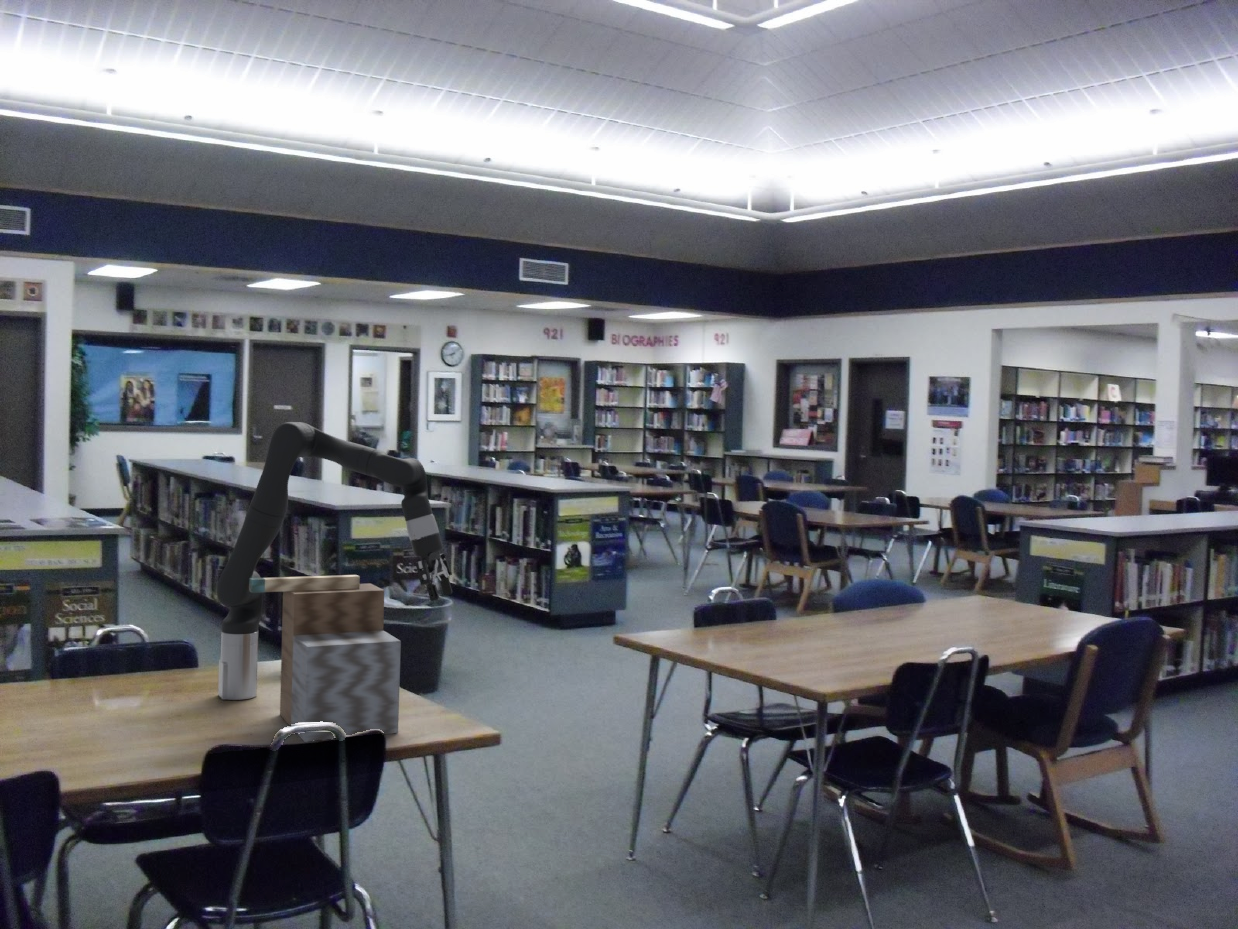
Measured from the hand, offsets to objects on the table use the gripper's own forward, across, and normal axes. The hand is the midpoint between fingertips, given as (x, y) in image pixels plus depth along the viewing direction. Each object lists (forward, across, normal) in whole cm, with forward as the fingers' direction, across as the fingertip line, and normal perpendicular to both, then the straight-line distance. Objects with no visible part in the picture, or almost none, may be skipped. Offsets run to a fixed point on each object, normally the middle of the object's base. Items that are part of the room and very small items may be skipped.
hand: (442, 597), depth 288 cm
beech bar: (-12, +15, -27) cm, 33 cm away
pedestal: (+22, +17, -28) cm, 39 cm away
